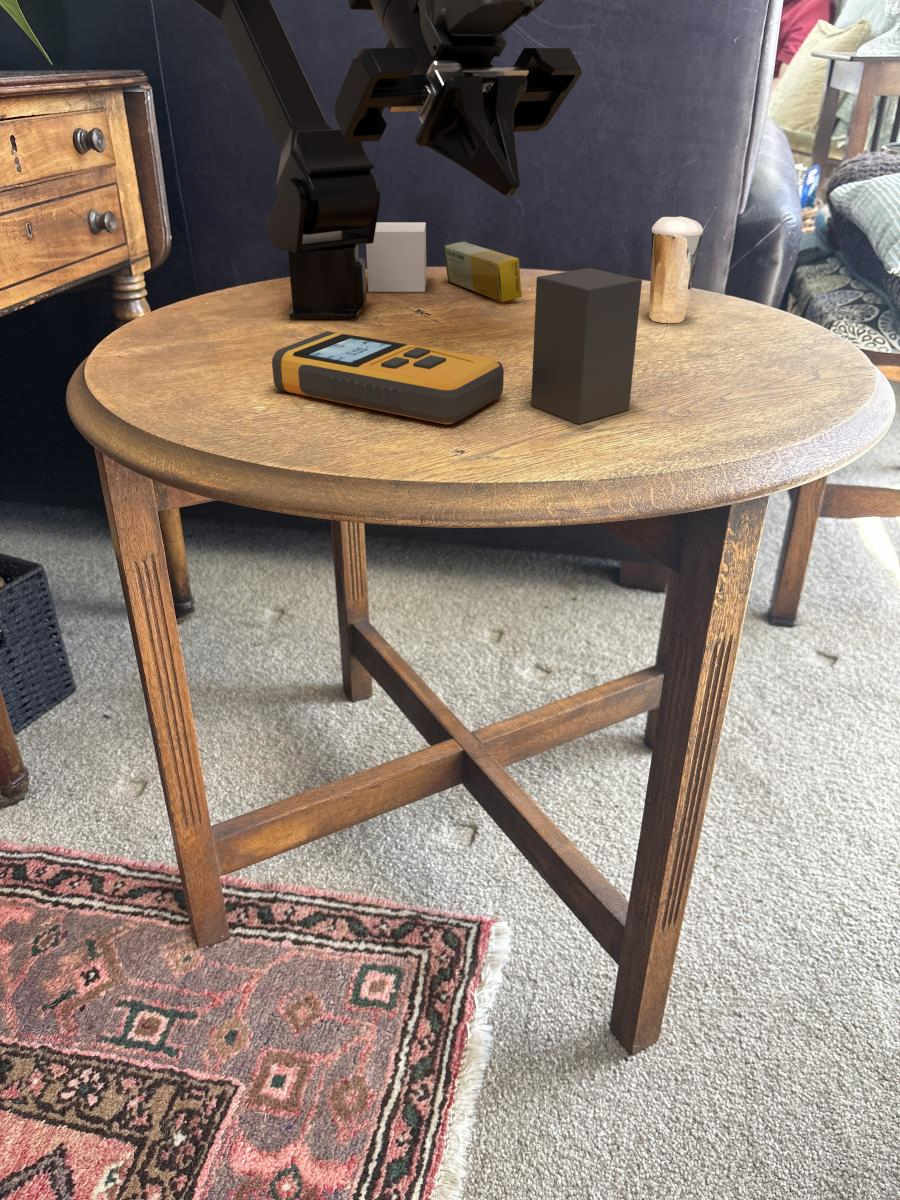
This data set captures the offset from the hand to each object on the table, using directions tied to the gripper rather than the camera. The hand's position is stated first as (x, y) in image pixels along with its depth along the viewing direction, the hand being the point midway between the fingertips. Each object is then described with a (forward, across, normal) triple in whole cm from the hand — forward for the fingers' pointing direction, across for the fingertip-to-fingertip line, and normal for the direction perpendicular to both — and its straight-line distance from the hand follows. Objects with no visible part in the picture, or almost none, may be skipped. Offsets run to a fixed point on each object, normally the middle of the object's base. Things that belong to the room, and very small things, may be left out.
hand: (512, 191), depth 66 cm
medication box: (-8, +17, +27) cm, 33 cm away
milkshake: (+6, +24, +13) cm, 29 cm away
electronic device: (+8, -9, +11) cm, 17 cm away
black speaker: (+15, 0, +4) cm, 16 cm away
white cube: (-13, +12, +33) cm, 38 cm away
